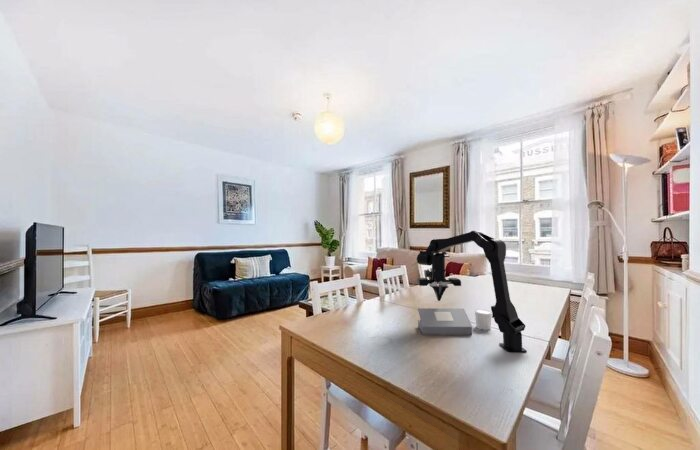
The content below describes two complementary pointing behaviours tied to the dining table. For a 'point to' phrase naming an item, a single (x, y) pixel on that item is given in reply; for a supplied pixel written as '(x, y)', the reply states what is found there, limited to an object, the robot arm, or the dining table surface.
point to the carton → (444, 330)
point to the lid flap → (444, 318)
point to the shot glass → (483, 319)
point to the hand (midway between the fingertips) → (438, 300)
